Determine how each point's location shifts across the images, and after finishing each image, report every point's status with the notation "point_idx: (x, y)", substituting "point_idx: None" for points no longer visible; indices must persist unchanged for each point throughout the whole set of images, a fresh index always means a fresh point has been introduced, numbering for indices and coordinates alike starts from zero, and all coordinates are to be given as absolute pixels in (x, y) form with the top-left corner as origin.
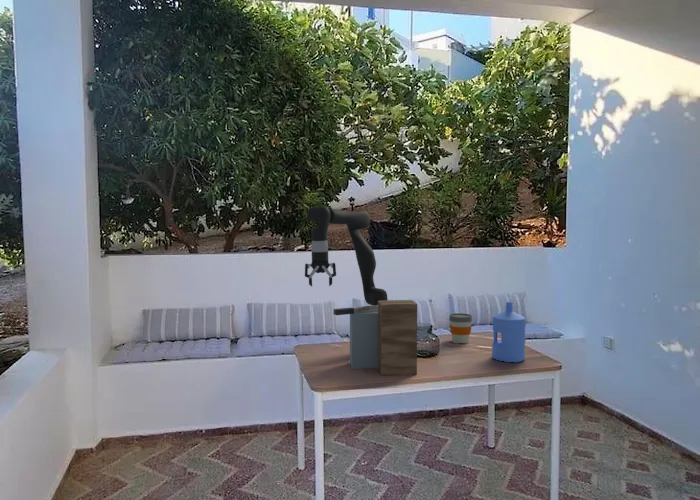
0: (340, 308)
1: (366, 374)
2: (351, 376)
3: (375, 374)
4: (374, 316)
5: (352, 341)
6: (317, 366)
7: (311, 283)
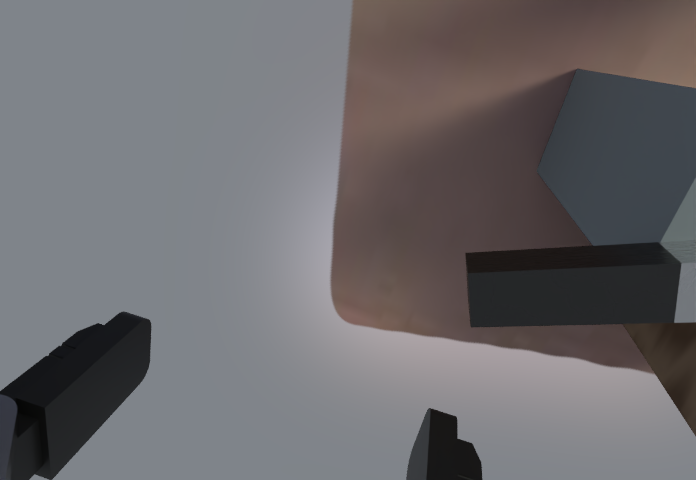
0: (545, 272)
1: None
2: None
3: None
4: None
5: (570, 213)
6: (399, 72)
7: (109, 403)
